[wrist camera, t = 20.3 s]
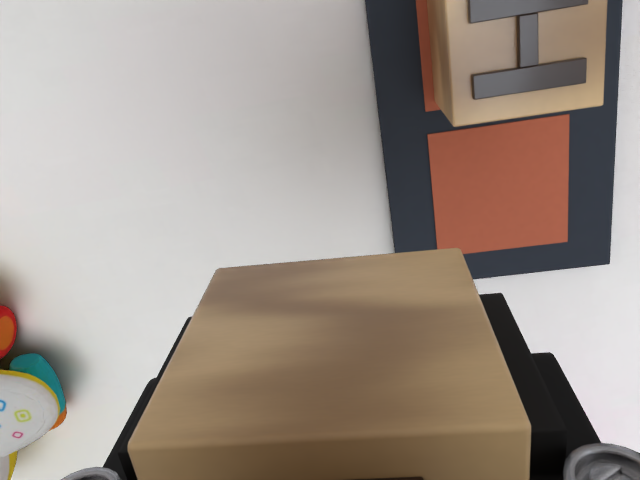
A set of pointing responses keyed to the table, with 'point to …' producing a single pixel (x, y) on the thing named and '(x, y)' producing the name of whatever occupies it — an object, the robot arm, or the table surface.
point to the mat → (491, 162)
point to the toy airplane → (25, 398)
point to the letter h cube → (516, 57)
